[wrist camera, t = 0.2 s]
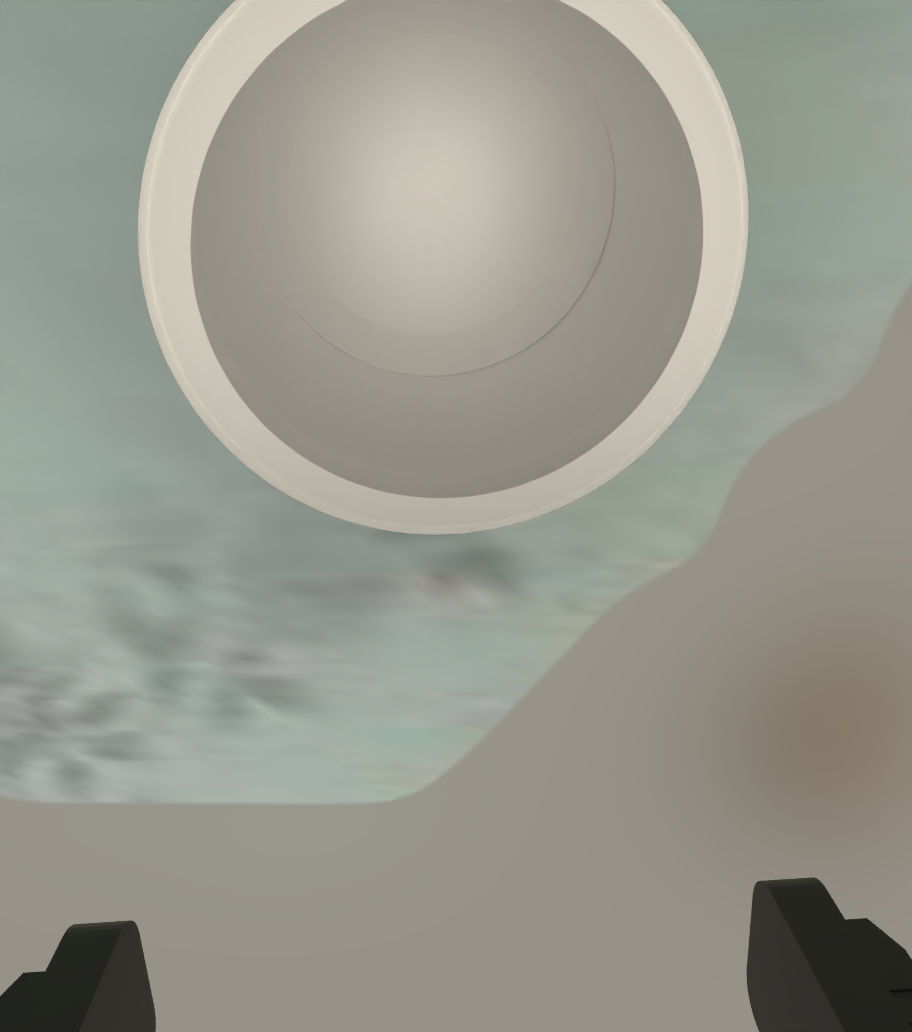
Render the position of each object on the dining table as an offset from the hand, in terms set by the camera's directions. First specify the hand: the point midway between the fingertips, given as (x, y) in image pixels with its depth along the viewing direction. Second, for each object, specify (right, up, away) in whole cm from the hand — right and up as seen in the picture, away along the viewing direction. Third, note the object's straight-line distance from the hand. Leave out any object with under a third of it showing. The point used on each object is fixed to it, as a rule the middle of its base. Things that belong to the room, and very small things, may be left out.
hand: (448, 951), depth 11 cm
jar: (-1, +17, +17) cm, 24 cm away
